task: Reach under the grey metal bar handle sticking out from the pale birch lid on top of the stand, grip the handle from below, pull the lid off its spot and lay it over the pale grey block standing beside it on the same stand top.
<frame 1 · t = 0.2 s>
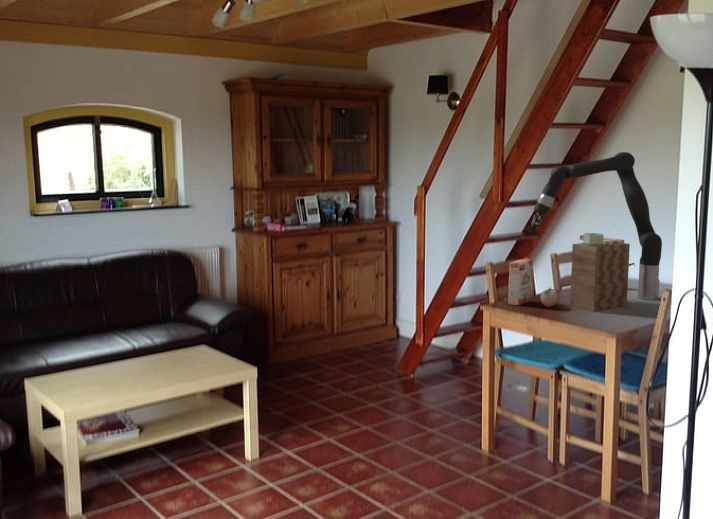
hand: (530, 233, 370), 32 cm above the table, tool tilted 25°, fingers open, 8 cm apart
pale grey block: (593, 244, 340), point 30 cm above the table, touching stand
cracker box: (519, 303, 356), on the table
coffee pot: (613, 289, 391), on the table
stand: (598, 306, 347), on the table
decorative fruit: (549, 308, 344), on the table
lid: (607, 242, 347), point 30 cm above the table, touching stand
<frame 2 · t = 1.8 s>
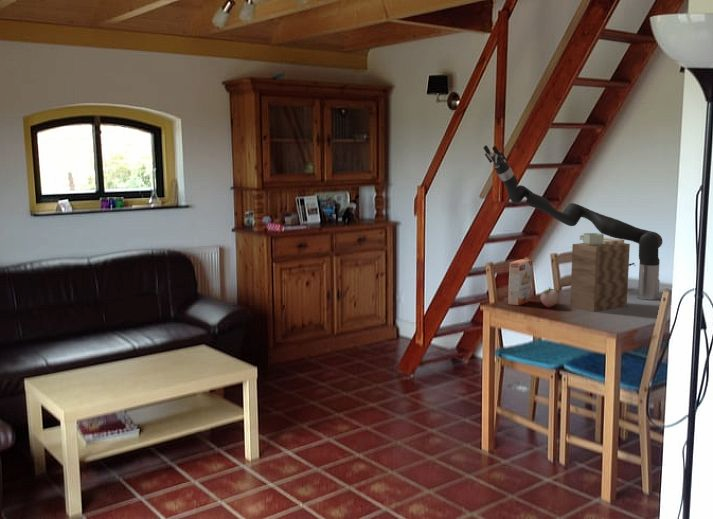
hand: (489, 146, 386), 76 cm above the table, tool pointing upward, fingers open, 8 cm apart
nothing on the table moved.
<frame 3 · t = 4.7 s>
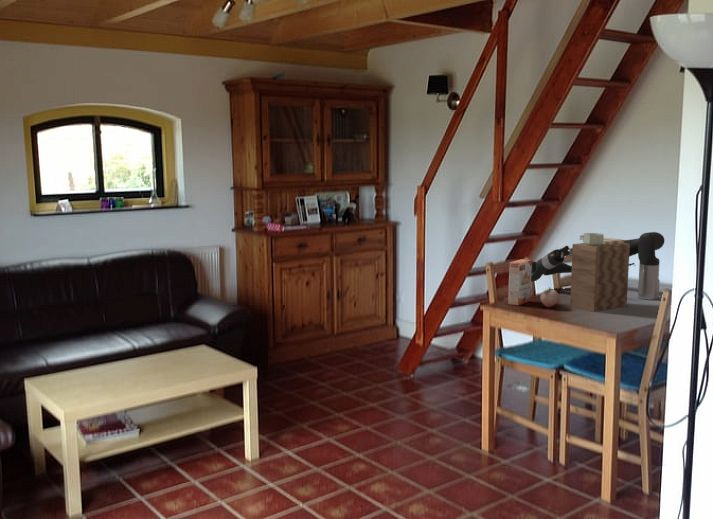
hand: (574, 246, 365), 26 cm above the table, tool pointing upward, fingers open, 8 cm apart
nothing on the table moved.
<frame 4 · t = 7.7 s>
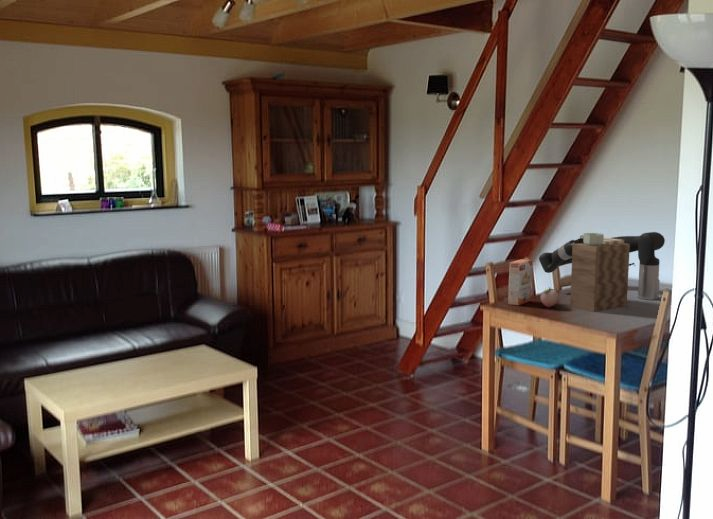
hand: (593, 235, 354), 32 cm above the table, tool pointing upward, fingers closed on lid, 2 cm apart
lid: (607, 242, 347), point 30 cm above the table, touching gripper, stand
everything else where it was.
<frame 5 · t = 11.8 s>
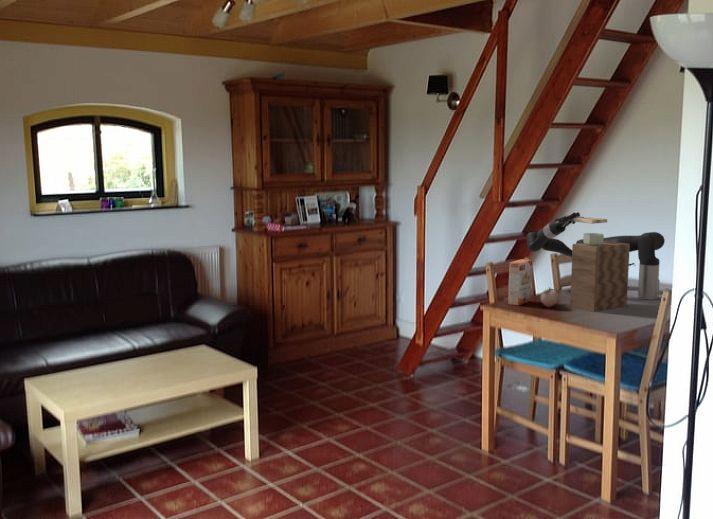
hand: (577, 214, 361), 42 cm above the table, tool pointing upward, fingers closed on lid
lid: (590, 222, 354), point 39 cm above the table, touching gripper
everything else where it was.
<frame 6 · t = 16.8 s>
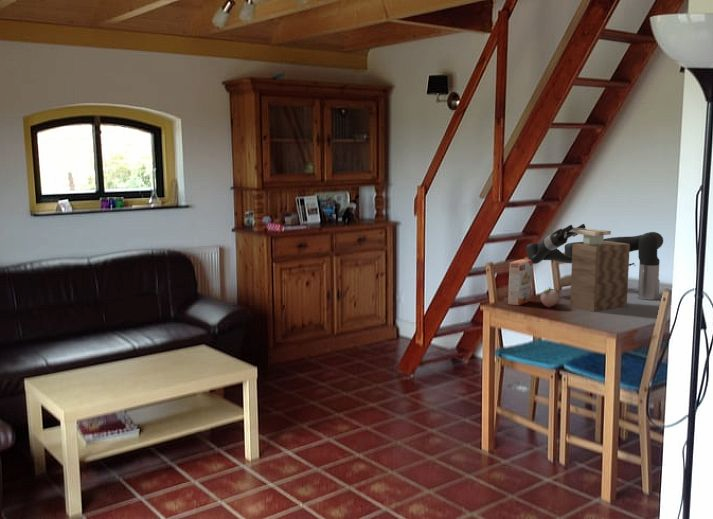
hand: (578, 226, 347), 38 cm above the table, tool pointing upward, fingers open, 8 cm apart
pale grey block: (593, 244, 340), point 30 cm above the table, touching lid, stand
lid: (593, 234, 339), point 35 cm above the table, touching pale grey block
everything else where it was.
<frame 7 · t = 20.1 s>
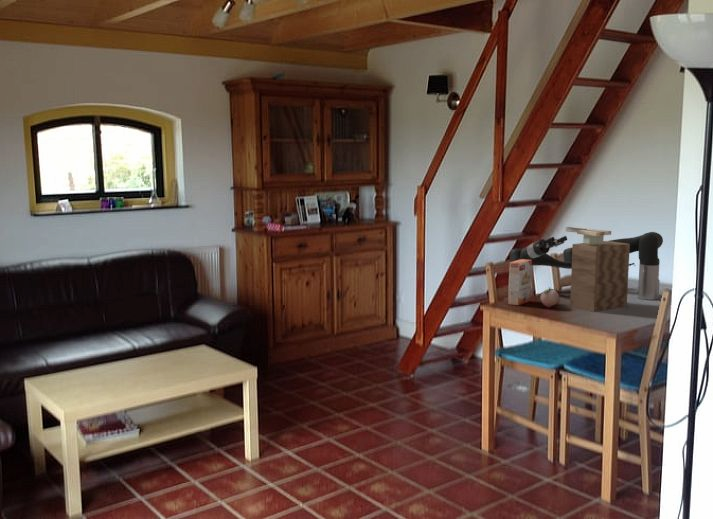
hand: (560, 238, 357), 31 cm above the table, tool pointing upward, fingers open, 8 cm apart
nothing on the table moved.
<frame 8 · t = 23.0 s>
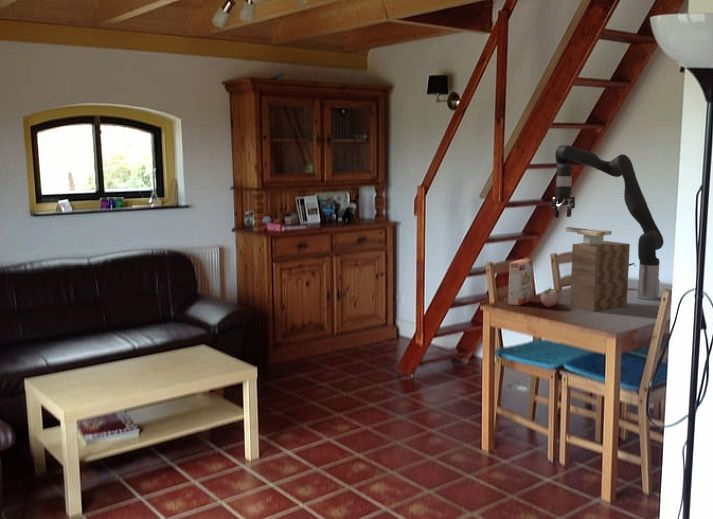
hand: (562, 217, 370), 40 cm above the table, tool pointing down, fingers open, 8 cm apart
nothing on the table moved.
at the end: lid 0.5 cm off-centre on the pale grey block, point 5.0 cm above the pale grey block's base; lid touching pale grey block; the gripper is holding nothing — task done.
